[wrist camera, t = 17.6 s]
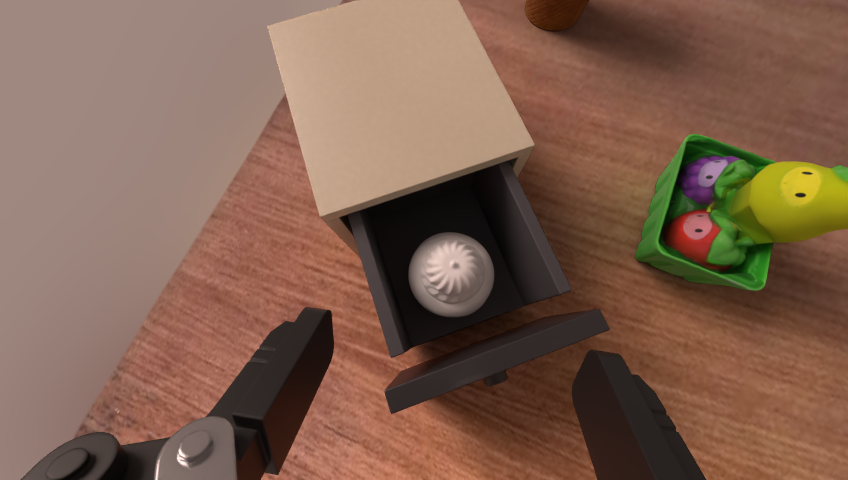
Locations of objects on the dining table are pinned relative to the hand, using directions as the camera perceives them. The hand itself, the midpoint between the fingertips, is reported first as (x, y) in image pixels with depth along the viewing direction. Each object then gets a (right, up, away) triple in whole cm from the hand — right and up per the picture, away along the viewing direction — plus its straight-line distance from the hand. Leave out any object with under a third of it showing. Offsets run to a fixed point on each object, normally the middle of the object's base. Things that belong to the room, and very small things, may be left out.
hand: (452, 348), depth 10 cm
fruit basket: (+23, +4, +19) cm, 30 cm away
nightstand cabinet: (-3, +11, +22) cm, 24 cm away
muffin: (+1, 0, +16) cm, 16 cm away
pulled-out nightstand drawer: (+1, 0, +17) cm, 17 cm away
